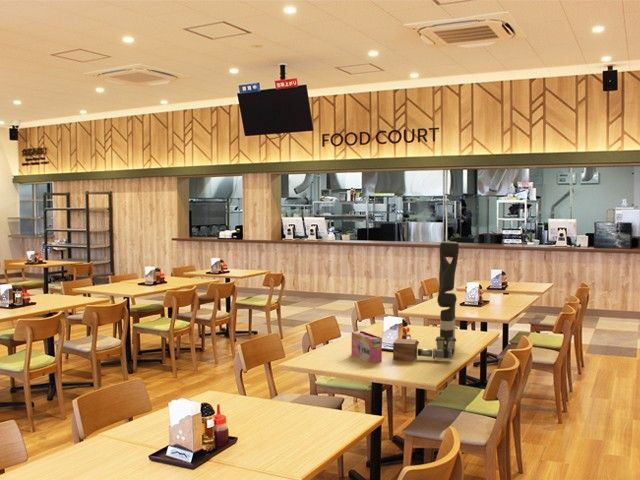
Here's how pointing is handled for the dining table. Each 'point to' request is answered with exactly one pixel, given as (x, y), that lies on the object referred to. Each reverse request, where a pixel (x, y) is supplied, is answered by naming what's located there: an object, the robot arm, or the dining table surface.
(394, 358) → the housing
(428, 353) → the grey capped rod
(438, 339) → the food container
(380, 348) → the gum box
